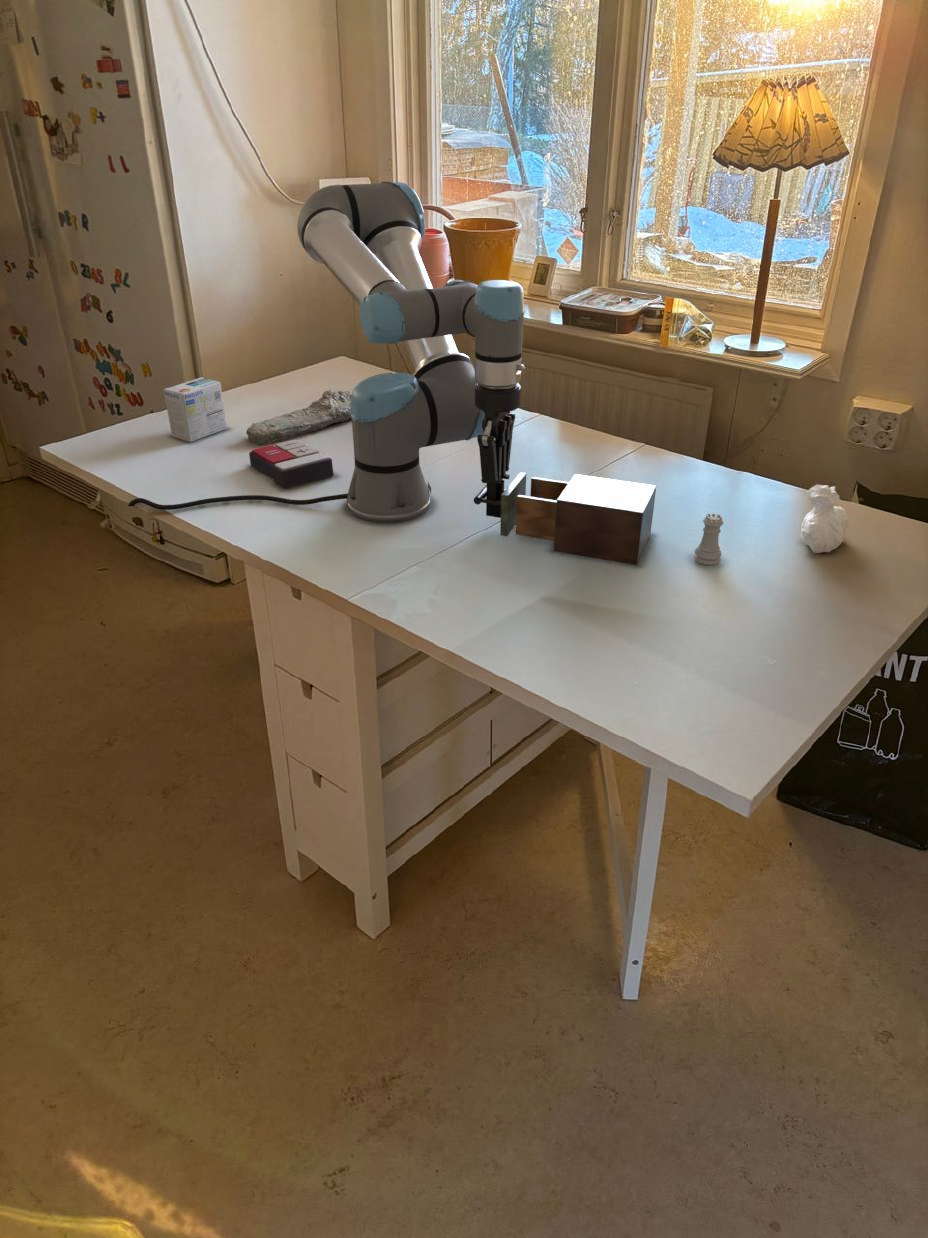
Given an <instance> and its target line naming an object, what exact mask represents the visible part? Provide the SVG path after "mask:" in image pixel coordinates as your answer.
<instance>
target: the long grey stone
mask: <svg viewBox="0 0 928 1238" xmlns="http://www.w3.org/2000/svg"><path fill="white" fill-rule="evenodd" d="M351 394H352V391H350V390H339V391H333V390H332V389H329V390H325V391H323V392H322V394H321V397H320V398H319V399H317V400H314V401H312V402H311V403H310V404H309V405H308V406H306V407H304V408H302V409H297V410H293V411H290V412H288V413H284V414H281V415H280V416H279V415H278V416H277V415H276V416H274V417H271V418H267V419H265V420H263V421H259V422H255V423H254V422H253V423H251V425H250V426H249V427H248V428H247V429H246V435H247V439H248V441H249V442H250V443H251V444H255V445H258V446H261V445H266V444H268V443H270V442H273V441H278V440H283V439H287V438H291V437H293V436H295V437H296V436H300V435H302V434H304V433H310V432H314V431H319V430H322V429H325V428H326V427H328V426H330V425H333V424H337V423H342V422H346V421H348V420H350V419H352V418H351V415H350V411H351Z"/></svg>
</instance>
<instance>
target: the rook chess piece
mask: <svg viewBox="0 0 928 1238" xmlns="http://www.w3.org/2000/svg"><path fill="white" fill-rule="evenodd" d="M702 523H703V524H704V527H703V528H702V531H703V534H702V538H701V541H700V542H699V544H698V546H697V547H696V548H695V549H694V554H693V559H694V560H695V562H696V563H697V564H699V565H701V566H704V567H705V566H706V567H714V566H716V565H718V564H719V563H721V561H722V550H721V548H720V545H719V536H720V533H721V531H722V530H721V527H722V526H723V525H724V520H723V516H722V515H721V514H720V513H717V514H716V512H712V513H709V512H708V513H706V515H705V517H704V518H703V519H702Z"/></svg>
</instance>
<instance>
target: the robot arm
mask: <svg viewBox="0 0 928 1238" xmlns="http://www.w3.org/2000/svg"><path fill="white" fill-rule="evenodd" d="M420 199H421V198H419V195H418V194H417V193H416V191H415V190H414V188H412V187H411V186H410V185H409V184H407V183H405V182H401V181H399V182H398V181H397V182H395V181H389V180H386V181H381V182H378V183H352V184H332V185H331V184H330V185H328V186H324V187H322V188H320V189H318V190H316V191H314V192H313V193H312V194H311V195H310V196H309V197H308V198H307V199H306V200H305V201H304V203H303V204H302V206H301V209H300V210H299V214H298V216H297V217H298V218H297V223H296V225H297V226H296V227H297V235H298V238H299V242H300V244H301V246H302V248H303V249H304V250H305V252H306V253H307V254H308V256H309V257H310V258H311V259H312V260H314V261H315V262H316V263H319V264H322V265H324V266H325V267H326V268H327V270H329V272H330V273H331V274H332V275H333V276H334V278H335V279H336V280H337V281H338V282H339V284H341V286H342V287H343V288H344V290H345V291H346V292H347V293H348V294H349V295H350V297H351V298H352V299H353V300H354V301H355V302H356V304H357V305H358V306H359V309H358V311H359V313H358V315H359V324H360V327H361V329H362V331H363V335H364V337H365V338H366V340H367V341H368V342H370V343H371V344H374V345H375V344H391V345H392V344H396V343H401V342H404V345H405V347H406V349H407V353H408V355H409V358H410V360H411V362H412V365H413V367H414V370H415V371H414V373H413V374H411V373H408V372H401V371H397V372H394V373H393V372H386V373H379V374H375V375H372V376H369V377H367V378H365V379H363V380H361V381H360V382H358V383H357V384H356V385H355V386H354V387H353V390H352V391H351V392H352V394H351V411H350V415H351V418H350V419H351V428H352V429H351V430H352V442H353V456H354V457H353V458H354V469H353V473H352V476H351V480H350V484H349V488H348V490H347V493H341V494H334V495H325V496H320V497H315V498H309V499H291V498H284V497H279V496H272V495H265V494H264V495H263V494H261V495H259V494H245V495H229V496H219V497H210V498H203V499H198V500H197V499H196V500H192V501H188V502H183V503H176V504H159V503H156V502H154V501H151V500H148V499H146V498H143V497H136V498H134V499H132V500H131V501H130V502H129V503H128V505H127V507H134V506H135V505H137V504H143V505H146V506H149V507H150V508H153V509H155V510H161V511H171V510H181V509H187V508H191V507H196V506H200V505H201V506H202V505H208V504H215V503H226V502H236V501H237V502H238V501H267V502H275V503H280V504H286V505H293V506H294V505H295V506H305V505H306V506H307V505H314V504H318V503H324V502H325V503H326V502H331V501H339V500H345V499H346V505H347V510H348V511H349V513H350V514H351V515H353V516H354V517H356V518H359V519H361V520H364V521H368V522H374V523H398V522H405V521H409V520H412V519H415V518H418V517H420V516H422V515H424V514H425V513H427V512H428V510H429V509H430V507H431V496H430V495H431V494H432V487H431V484H430V483H429V481H427V482H426V479H425V477H424V474H423V471H422V468H421V466H420V465H421V464H420V449H422V448H426V447H432V446H438V445H443V444H449V443H455V442H460V441H470V440H472V439H475V438H476V439H477V445H478V448H479V460H480V475H481V479H480V481H481V482H482V484H486V485H487V494H486V498H485V499H490V500H497V501H501V495H502V493H503V492H504V489H505V480H510V477H511V474H508V473H507V472H509V470H510V462H511V461H510V460H511V452H512V441H513V433H514V432H513V431H514V425H515V421H516V414H515V413H511V412H513V411H516V410H517V409H519V408H520V406H521V398H522V397H521V394H522V393H521V392H522V386H521V384H520V383H521V381H522V372H523V371H525V368H526V367H525V365H524V364H522V359H523V356H522V355H523V345H524V343H523V340H524V325H525V323H524V322H525V314H526V313H525V312H526V311H525V310H526V309H525V305H524V304H525V303H524V302H525V301H524V299H525V296H524V294H525V293H524V288H523V286H522V285H521V284H520V283H518V282H516V281H512V280H510V281H509V280H506V279H492V280H491V279H490V280H485V281H481V282H480V283H479V284H476V283H475V282H472V281H470V280H462V279H453V280H451V281H449V282H447V283H446V284H444V285H443V286H441V287H440V286H439V287H433V285H432V282H431V280H430V278H429V275H428V272H427V270H426V268H425V265H424V263H423V260H422V257H421V255H420V249H421V247H422V243H423V242H422V241H423V239H424V237H425V233H426V219H425V218H424V214H425V211H424V207H423V205H422V202H421V200H420ZM459 334H460V335H461V334H467V335H469V336H471V337H473V338H474V365H473V363H472V360H471V358H470V357H469V356H468V355H466V354H465V353H461V352H459V349H458V347H457V345H456V342H455V340H454V337H453V335H454V336H455V335H459ZM485 516H486V517H493V518H498V519H501V505H494V504H488V503H485Z"/></svg>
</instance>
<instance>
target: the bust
mask: <svg viewBox="0 0 928 1238" xmlns="http://www.w3.org/2000/svg"><path fill="white" fill-rule="evenodd" d="M840 497H841V496H840V495H839V494H838V492H837V491H836V486H830V485H829V484H826V485H824V484H815V485H814V486H812V487H810V488H809V489H808V490H807V492H806V498H807V501H808V502H809V504H810V506H811V507H813V508H812V509H811V510H810V511H809V512H808V513H806V515H805V516H804V518H803V521H802V523H801V524H800V528H801V529H800V530H801V531H800V539H801V541H802V542H803V543H804V544H805V545H807V546H809V548H810V549H811V551H812V552H813V554H821V553H831V552H832V551H833V550H836V549H837V548H839V546H840V545H841V544H842V542H843V539H844V537H845V535H846V532H847V529H848V528H849V519H848V515H847V512H846V510H845V509H844V508H843V507H842V506H836V505H837V504H838V502H839V501H840V499H841V498H840Z"/></svg>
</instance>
